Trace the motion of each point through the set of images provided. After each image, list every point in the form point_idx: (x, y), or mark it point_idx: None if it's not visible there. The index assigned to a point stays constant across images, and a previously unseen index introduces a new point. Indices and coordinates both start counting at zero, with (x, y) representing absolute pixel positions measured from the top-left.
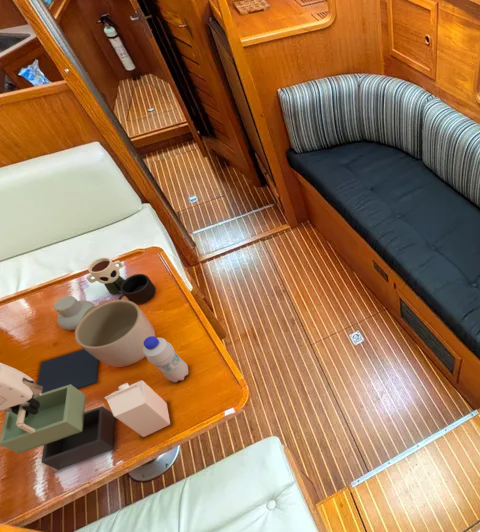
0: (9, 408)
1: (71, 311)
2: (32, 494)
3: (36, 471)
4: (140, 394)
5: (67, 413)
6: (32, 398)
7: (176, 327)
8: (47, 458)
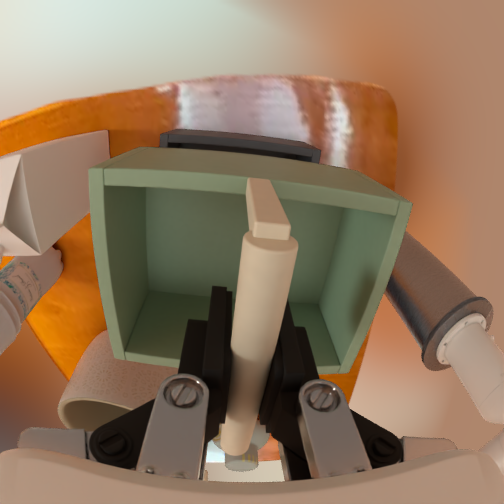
0: (303, 415)
1: None
2: (355, 115)
3: (345, 166)
4: None
5: (91, 219)
6: (116, 419)
7: (76, 353)
8: (304, 153)
